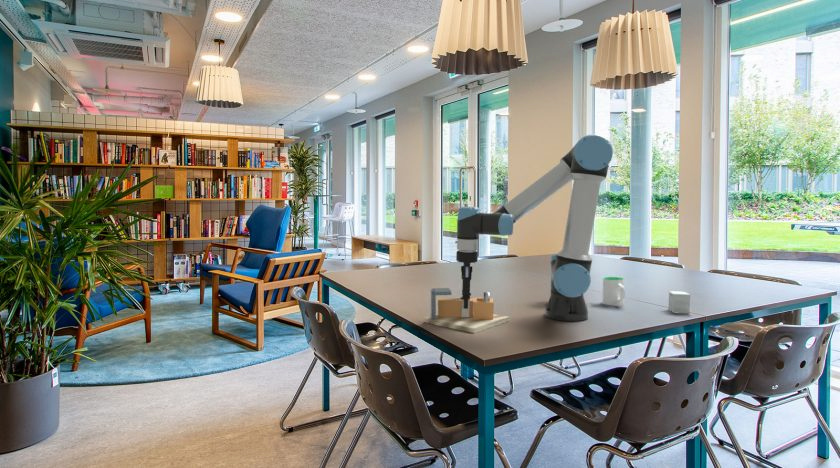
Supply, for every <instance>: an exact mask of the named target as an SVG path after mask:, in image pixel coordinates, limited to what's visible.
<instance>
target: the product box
mask: <svg viewBox="0 0 840 468" xmlns="http://www.w3.org/2000/svg"><path fill="white" fill-rule="evenodd" d="M690 303H691V294H690V293H688V292H686V291H680V290H679V291H677V290H676V291H675V290H673V291H671V290H669V291H668V307H667V308H668V309H667V310H668V311H669V312H671V311H672V312H678V313H677V314H687V313H689V314H690ZM672 312H671V313H672Z"/></svg>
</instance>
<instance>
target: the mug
mask: <svg viewBox="0 0 840 468" xmlns="http://www.w3.org/2000/svg"><path fill="white" fill-rule="evenodd" d="M625 297H626V290H625V278H623V277H617V276H604V277H602V304H604V305H606V306H617V307H618V306H623V305H624V301H625Z"/></svg>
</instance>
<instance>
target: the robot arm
mask: <svg viewBox="0 0 840 468" xmlns="http://www.w3.org/2000/svg"><path fill="white" fill-rule="evenodd" d="M613 155H614V149H613V146H612V144H611V142H610V141H609V139H607V138H606V137H605V136H603V135H600V134H588V135H587V134H586V135H585V136H582V137H581V138H580V139H579V140H578V141H577V142H576V143H575V145H574V146H572V148H571V149H570V150H569V151H568V152H567V153H566V154H565V155H564V156H562V157H561V158H560V159H559V163H558V164H557V165H555V166H554V167H553V168H552V169H550V170H549V171H548V172H546V173H545V174H543V175H542V176H540V178H538V179H537V180H535V181H534V182H533V183H531V184H530V185H529V186H528V187H526V188H525V189H524V190H522V191H520V193H518V194H517V195H516V196H514V197H513V198H512V199H510V200H509V201H507V203H505V204H504V205H503V206H501V207H499V209H497V210H496V211H495V212H493V213H488V212H487V213H485V212H480V208H479V207H477V206H461V207H459V208H457V209H458V210H457V219H456V220H457V221H456V223H457V224H456V225H457V226H456V240H455V241H454V243H455V244H456V249H457V251H456V254H455V255H456V257H455V258H456V259H455V260H456V262H458V263H462V264H463V265H460V266H461V267H460V273H461V280H462V289H461V292H462V293H461V297H460V299H462V317H469V309H470V299H471V296H472V293H471V280H472V276H473V274H472V273H473V266H471V263H472V264H475V263H478V262H479V261H478V258H479V257H478V256H479V252H478V250H479V235H489V236H502V237H505V236H512V235H513V233H514V224H515V223H516V222H517V221H519V220H520V219H522V218H523V217H525V216H526V215H528V213H530V212H531V211H532V210H534V209H535V208H536V207H538V206H539V205H541V204H542V203H543V202H545V201H546V200H547V199H549V198H550V197H552V196H554V194H556V193H557V192H558V191H559V190H561V189H562V188H564V187H565V186H566V185H568V184H569V183H570V182H572V181H573V184H572V189H571V196H570V202H569V208H568V214H567V218H566V225H565V231H564V232H565V233H564V238H563V242H562V243H563V244H562V249H561V250H560V251H558V252H557V253H556V254H552V255H551V258H550V295H549V299H548V301H547V305H546V307H545V312H544V313H545V317H547V318H549V319H552V320H556V321H563V322H564V321H565V322H580V321H585V320H588V318H589V311H588V306H587V304H586V300H585V297H584V294H585V293H586V292H587V291H588V290H589V287H590V285H591V282H592V278H591V271H592V264H593V263H592V262H593V258H592V257H591V255H590V253H589V251H590V247H591V241H592V236H593V229H594V222H595V218H596V212H597V211H596V210H597V205H598V200H599V196H600V195H599V194H600V188H601V184H602V182H604V181H605V180H606V179H607V176H608V171H609V166H610V165H609V164H610V163H611V161H612V159H613Z"/></svg>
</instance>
